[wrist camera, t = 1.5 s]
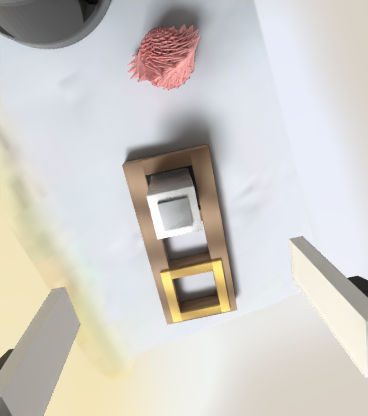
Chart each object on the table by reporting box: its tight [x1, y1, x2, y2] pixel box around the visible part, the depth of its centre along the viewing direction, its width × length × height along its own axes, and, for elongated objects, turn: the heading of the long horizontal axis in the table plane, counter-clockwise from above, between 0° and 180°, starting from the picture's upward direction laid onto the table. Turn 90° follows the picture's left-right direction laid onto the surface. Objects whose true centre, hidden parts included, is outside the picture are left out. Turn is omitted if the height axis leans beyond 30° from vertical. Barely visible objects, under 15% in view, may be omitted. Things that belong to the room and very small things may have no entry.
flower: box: [127, 24, 200, 90], centre depth 28 cm, size 8×8×6 cm
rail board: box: [122, 144, 237, 325], centre depth 37 cm, size 23×10×2 cm, turn 12°
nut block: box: [146, 167, 203, 239], centre depth 31 cm, size 4×4×9 cm
